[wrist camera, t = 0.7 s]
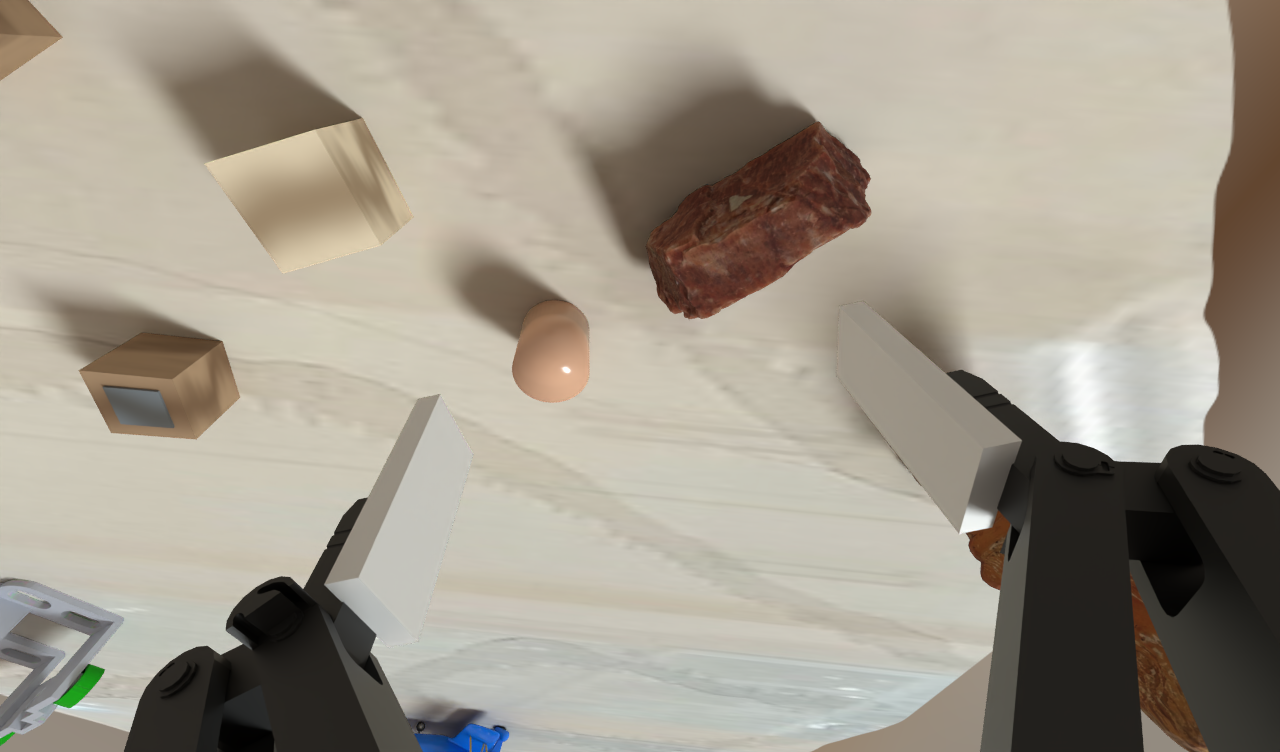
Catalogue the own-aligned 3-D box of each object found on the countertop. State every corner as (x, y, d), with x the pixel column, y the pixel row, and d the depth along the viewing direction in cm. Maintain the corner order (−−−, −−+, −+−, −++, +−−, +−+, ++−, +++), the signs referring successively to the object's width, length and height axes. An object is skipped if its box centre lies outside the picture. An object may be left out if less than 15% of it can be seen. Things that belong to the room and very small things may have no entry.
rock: (664, 294, 43) (680, 346, 35) (624, 235, 39) (632, 279, 32) (857, 173, 38) (922, 203, 31) (829, 95, 35) (895, 107, 27)
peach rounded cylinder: (513, 306, 42) (501, 346, 36) (581, 294, 42) (579, 331, 36) (533, 363, 45) (525, 408, 39) (595, 352, 45) (596, 395, 39)
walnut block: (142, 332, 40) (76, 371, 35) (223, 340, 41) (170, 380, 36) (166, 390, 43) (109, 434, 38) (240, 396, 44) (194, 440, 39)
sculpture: (922, 496, 61) (1155, 797, 36) (889, 461, 57) (1125, 774, 32) (1023, 436, 56) (1368, 733, 31) (995, 394, 52) (1365, 696, 27)
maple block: (271, 146, 34) (204, 163, 28) (363, 118, 33) (314, 129, 27) (330, 241, 37) (282, 273, 32) (413, 216, 37) (381, 245, 31)
